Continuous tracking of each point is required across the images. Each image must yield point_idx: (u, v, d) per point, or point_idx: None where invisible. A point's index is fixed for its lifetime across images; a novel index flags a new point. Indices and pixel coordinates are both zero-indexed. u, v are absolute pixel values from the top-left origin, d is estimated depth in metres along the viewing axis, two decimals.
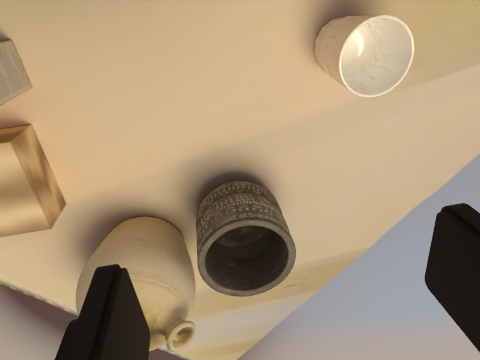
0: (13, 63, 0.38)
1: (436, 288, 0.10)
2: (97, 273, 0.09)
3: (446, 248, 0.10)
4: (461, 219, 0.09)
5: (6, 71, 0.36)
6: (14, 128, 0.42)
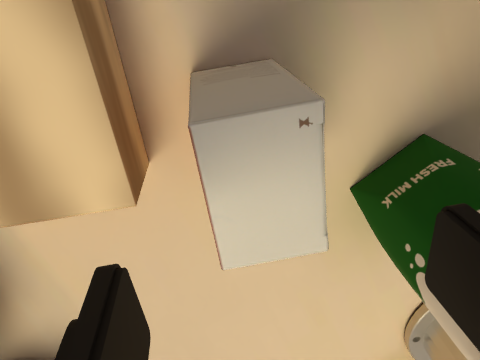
0: None
1: (436, 288, 0.10)
2: (97, 273, 0.09)
3: (446, 248, 0.10)
4: (461, 219, 0.09)
5: None
6: (141, 142, 0.23)
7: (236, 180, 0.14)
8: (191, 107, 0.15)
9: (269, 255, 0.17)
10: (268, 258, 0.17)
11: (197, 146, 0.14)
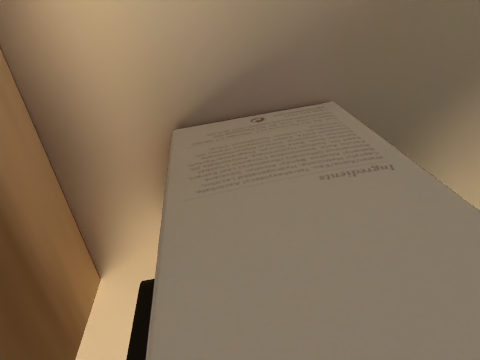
0: None
1: None
2: None
3: None
4: None
5: None
6: (80, 256, 0.12)
7: None
8: None
9: None
10: None
11: None
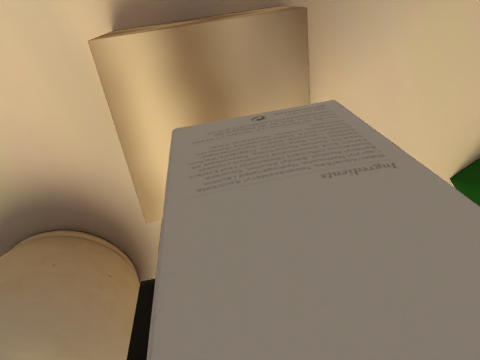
0: None
1: None
2: None
3: None
4: None
5: None
6: None
7: None
8: None
9: None
10: None
11: None
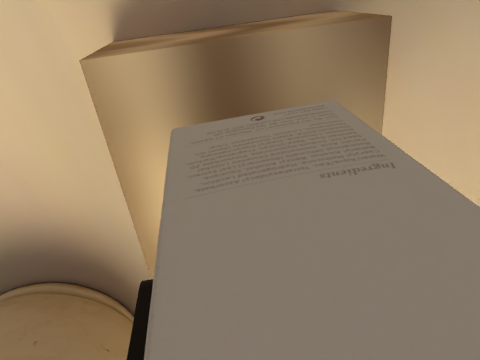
0: None
1: None
2: None
3: None
4: None
5: None
6: None
7: None
8: None
9: None
10: None
11: None
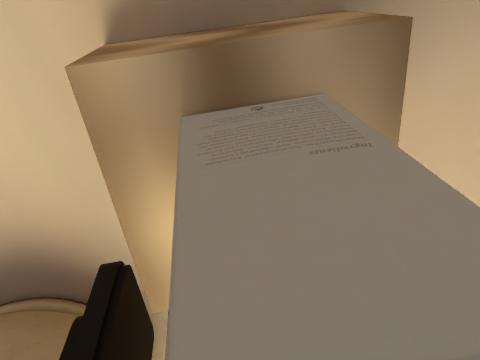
0: None
1: None
2: (101, 270, 0.09)
3: None
4: None
5: None
6: None
7: None
8: (176, 282, 0.05)
9: None
10: None
11: None
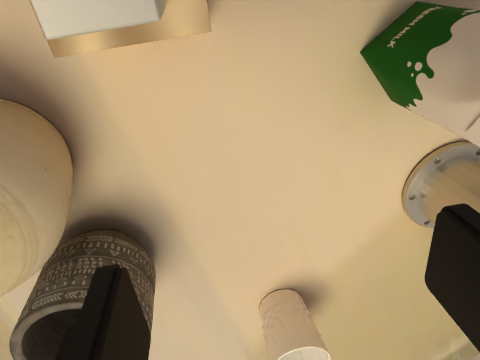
0: None
1: (436, 288, 0.10)
2: (97, 273, 0.09)
3: (446, 248, 0.10)
4: (461, 219, 0.09)
5: None
6: None
7: None
8: None
9: (94, 19, 0.16)
10: (93, 23, 0.16)
11: None
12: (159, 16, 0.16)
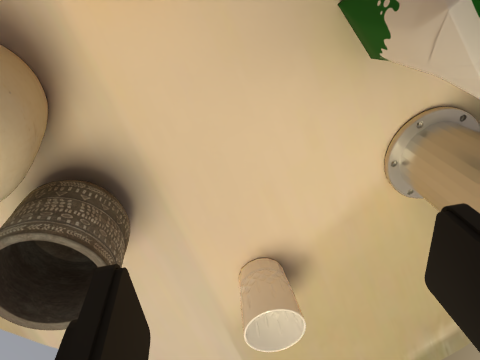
0: None
1: (436, 288, 0.10)
2: (97, 273, 0.09)
3: (446, 248, 0.10)
4: (461, 219, 0.09)
5: None
6: None
7: None
8: None
9: None
10: None
11: None
12: None
